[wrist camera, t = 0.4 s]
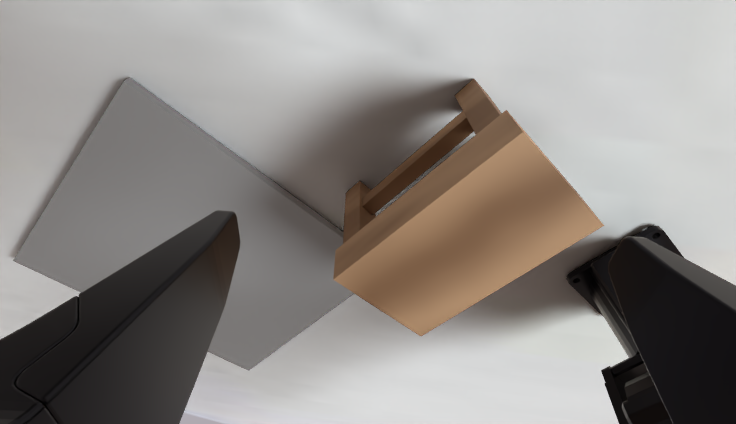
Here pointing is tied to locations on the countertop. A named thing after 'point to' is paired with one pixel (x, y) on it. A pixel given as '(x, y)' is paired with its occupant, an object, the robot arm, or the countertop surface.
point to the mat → (187, 223)
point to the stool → (458, 219)
